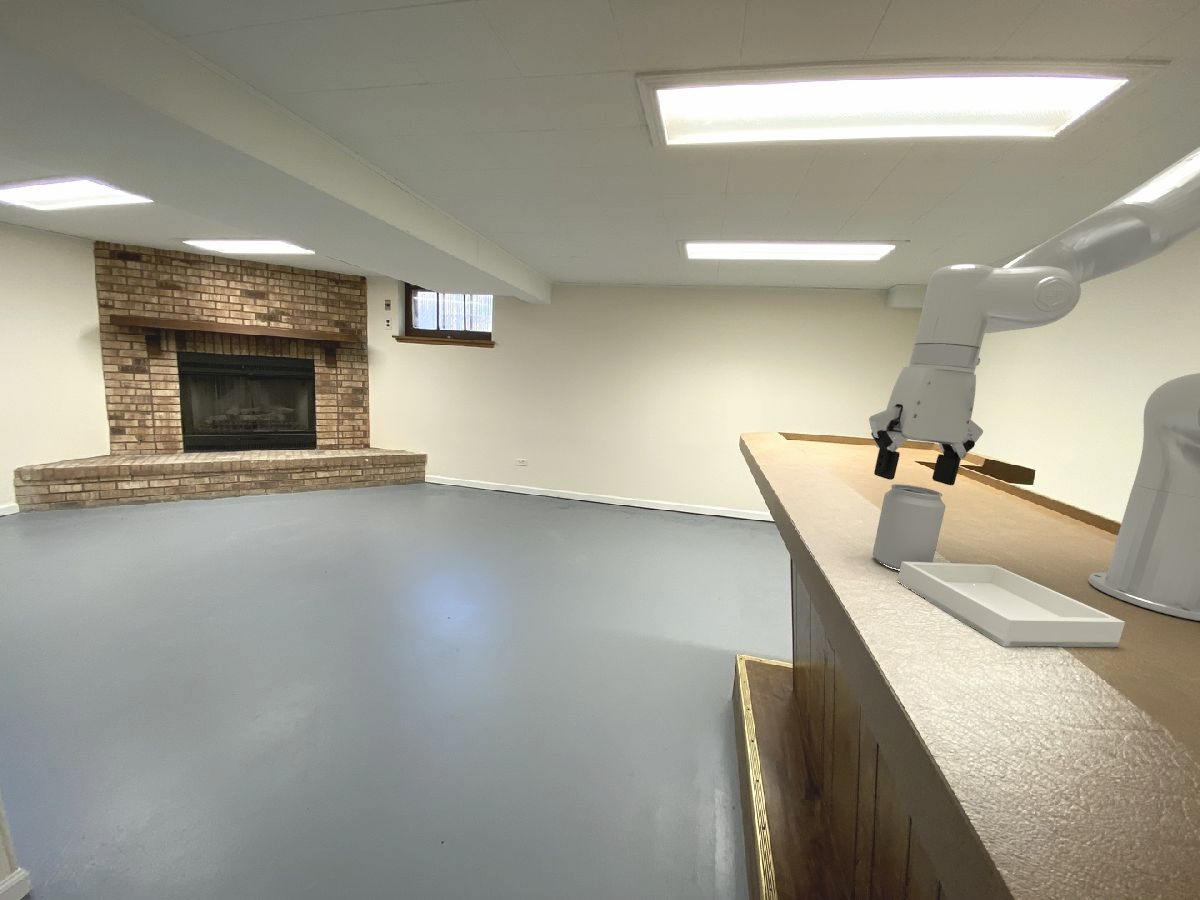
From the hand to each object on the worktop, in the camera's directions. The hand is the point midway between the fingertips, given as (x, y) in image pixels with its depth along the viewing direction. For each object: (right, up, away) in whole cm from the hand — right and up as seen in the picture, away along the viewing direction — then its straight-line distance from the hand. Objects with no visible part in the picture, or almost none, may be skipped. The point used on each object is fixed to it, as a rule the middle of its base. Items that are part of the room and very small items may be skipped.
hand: (913, 480), depth 67 cm
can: (-1, -13, +2) cm, 13 cm away
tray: (+3, -15, -10) cm, 19 cm away
